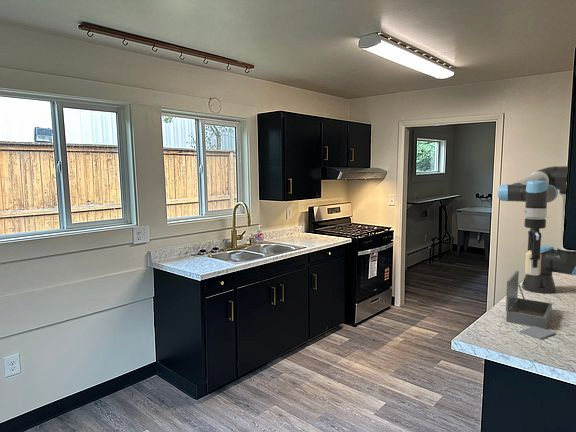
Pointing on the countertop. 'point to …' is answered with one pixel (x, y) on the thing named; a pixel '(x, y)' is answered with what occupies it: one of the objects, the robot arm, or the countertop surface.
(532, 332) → the mat
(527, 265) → the candle
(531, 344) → the countertop surface
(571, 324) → the countertop surface
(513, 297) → the case
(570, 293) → the countertop surface
